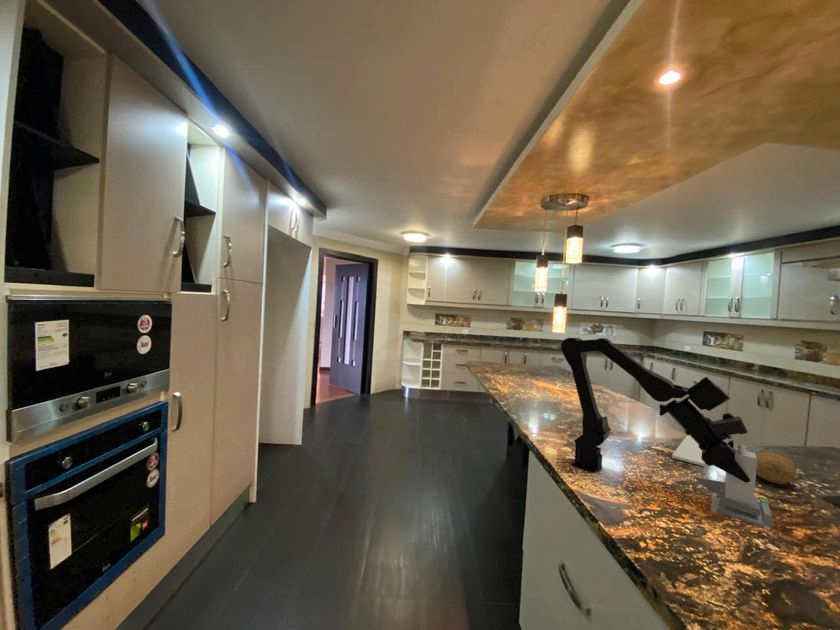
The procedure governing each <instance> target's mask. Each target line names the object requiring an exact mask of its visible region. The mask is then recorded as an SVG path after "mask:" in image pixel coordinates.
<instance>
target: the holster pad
mask: <svg viewBox="0 0 840 630" xmlns="http://www.w3.org/2000/svg"><path fill="white" fill-rule="evenodd" d="M693 478H694V479H696V480H697V482H699V483H700V484H701V485H702V486H703V487H704V488H705V489H706V490H708V491H709V492H711V493H716V494H719V488H720V489H724V490H725V481H720V480H719V481H718V480H713V479H706V478H700V477H695V476H694V477H693Z"/></svg>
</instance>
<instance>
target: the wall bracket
mask: <svg viewBox="0 0 840 630" xmlns="http://www.w3.org/2000/svg"><path fill="white" fill-rule="evenodd" d="M698 446H699V445H698V443H697V442H696V441H695V440H694V439H693V438H692V437H691V436H690V435H687V434H686V436H685V438H683V440H682V442H681V443H680V444H679V445H678V447H677V448H676V449H675V450H674V452H673V453H672V455H671V458H672V459H676V460H680V461H684V462H687V463H691V464H695V465H697V466H701V467H704V466H706V465H707V464H706V463H705V462H704V461H703V460H702V459H701V458H702V450H701V449H700V448H699V447H698Z"/></svg>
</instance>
